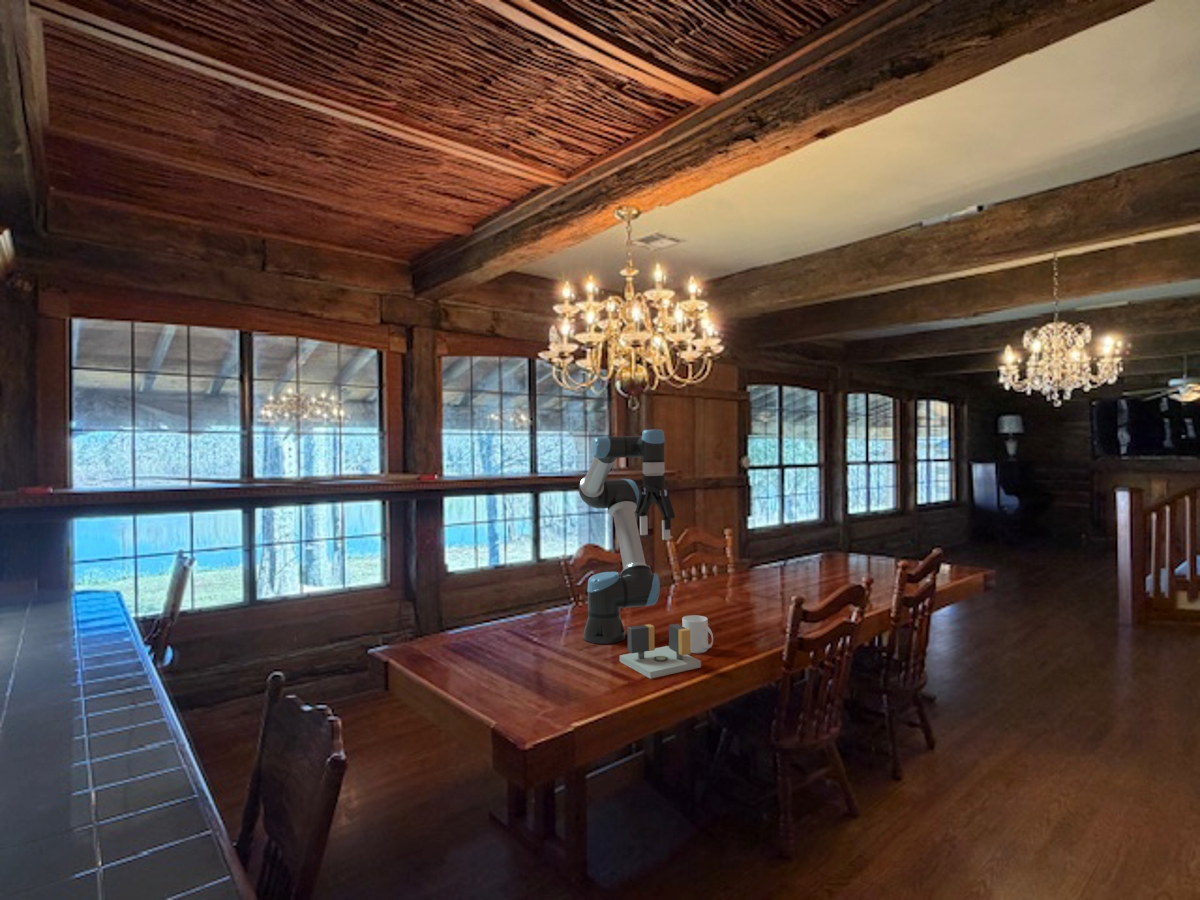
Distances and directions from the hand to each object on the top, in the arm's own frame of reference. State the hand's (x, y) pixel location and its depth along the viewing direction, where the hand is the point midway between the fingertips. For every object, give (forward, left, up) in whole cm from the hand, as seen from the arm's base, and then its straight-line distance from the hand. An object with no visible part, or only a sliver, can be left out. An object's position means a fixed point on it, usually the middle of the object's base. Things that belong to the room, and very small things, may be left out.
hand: (654, 537), depth 217 cm
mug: (+8, +12, -39) cm, 41 cm away
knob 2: (+16, -2, -37) cm, 40 cm away
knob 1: (+9, -12, -37) cm, 40 cm away
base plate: (+12, -7, -39) cm, 41 cm away
